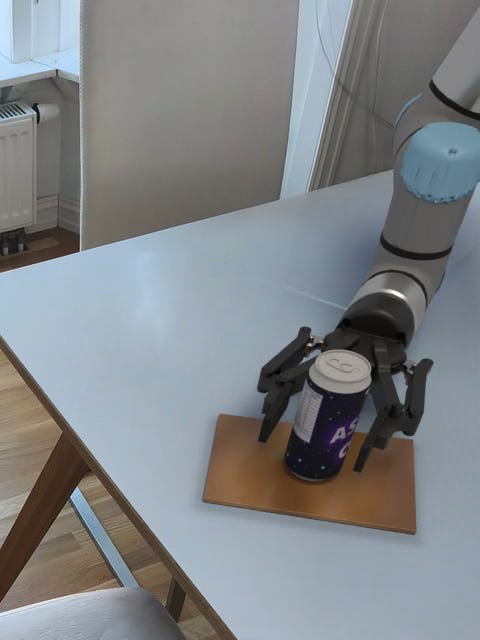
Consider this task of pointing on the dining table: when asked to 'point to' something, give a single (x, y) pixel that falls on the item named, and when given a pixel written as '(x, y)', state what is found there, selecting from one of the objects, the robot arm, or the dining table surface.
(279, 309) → the dining table surface
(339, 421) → the beverage can
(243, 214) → the dining table surface
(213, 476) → the copper plate
